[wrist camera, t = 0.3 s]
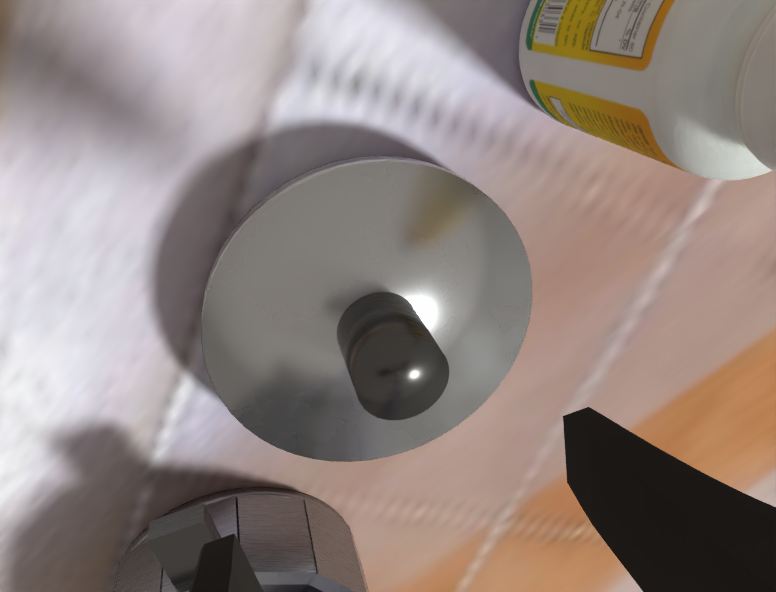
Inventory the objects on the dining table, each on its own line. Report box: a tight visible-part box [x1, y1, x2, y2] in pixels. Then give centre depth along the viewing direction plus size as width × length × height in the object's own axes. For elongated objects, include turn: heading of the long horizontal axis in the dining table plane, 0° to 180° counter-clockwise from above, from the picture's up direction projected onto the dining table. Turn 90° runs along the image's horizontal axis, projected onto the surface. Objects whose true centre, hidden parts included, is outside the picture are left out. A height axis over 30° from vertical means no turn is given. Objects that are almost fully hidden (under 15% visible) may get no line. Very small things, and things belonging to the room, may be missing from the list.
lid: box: [202, 156, 532, 462], centre depth 19 cm, size 11×11×5 cm
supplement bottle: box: [519, 0, 776, 180], centre depth 15 cm, size 5×5×10 cm
